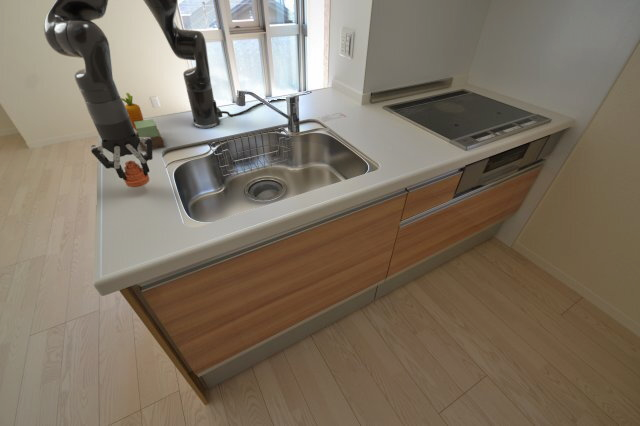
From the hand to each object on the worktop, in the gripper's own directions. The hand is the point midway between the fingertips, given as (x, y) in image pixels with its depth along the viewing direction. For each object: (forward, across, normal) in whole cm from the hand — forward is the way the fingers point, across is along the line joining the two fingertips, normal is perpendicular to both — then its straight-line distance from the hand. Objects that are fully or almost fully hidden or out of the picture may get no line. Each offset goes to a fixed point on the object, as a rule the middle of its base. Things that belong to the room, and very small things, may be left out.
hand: (135, 175), depth 81 cm
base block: (+6, +7, +28) cm, 29 cm away
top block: (+2, +7, +28) cm, 29 cm away
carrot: (+6, +5, +38) cm, 38 cm away
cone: (+2, 0, 0) cm, 2 cm away
